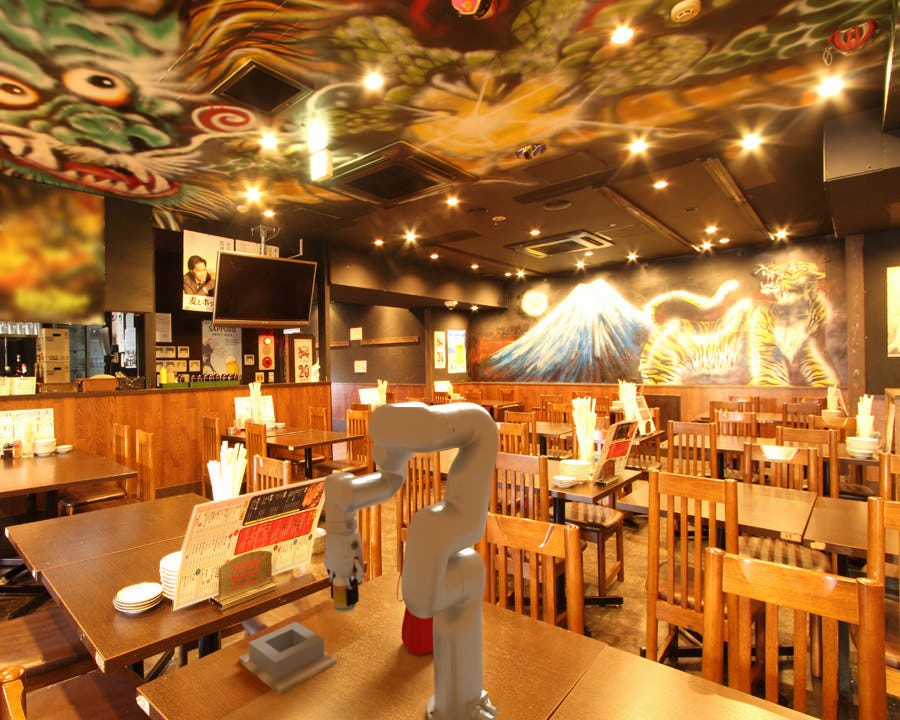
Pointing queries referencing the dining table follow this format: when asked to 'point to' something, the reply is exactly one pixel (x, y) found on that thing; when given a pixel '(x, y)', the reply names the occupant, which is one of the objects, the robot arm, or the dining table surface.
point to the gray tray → (292, 678)
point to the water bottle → (416, 631)
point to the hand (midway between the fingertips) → (344, 599)
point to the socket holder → (282, 664)
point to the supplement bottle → (341, 594)
